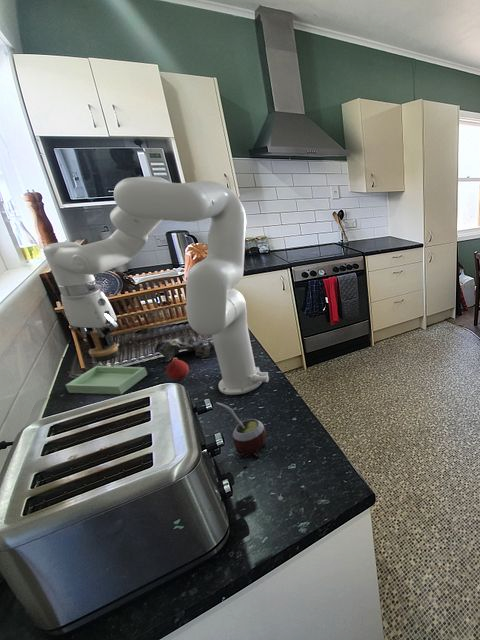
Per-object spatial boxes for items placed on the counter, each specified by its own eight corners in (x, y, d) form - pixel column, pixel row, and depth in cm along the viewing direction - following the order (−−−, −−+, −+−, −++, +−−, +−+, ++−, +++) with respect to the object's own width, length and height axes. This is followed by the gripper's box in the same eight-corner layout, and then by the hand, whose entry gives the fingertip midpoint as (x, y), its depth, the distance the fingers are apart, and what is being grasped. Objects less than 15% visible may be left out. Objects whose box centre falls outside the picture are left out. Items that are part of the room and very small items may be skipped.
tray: (147, 374, 113) (145, 367, 112) (121, 394, 103) (118, 386, 102) (99, 373, 112) (96, 365, 111) (68, 392, 103) (65, 385, 102)
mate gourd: (273, 452, 85) (263, 403, 79) (239, 469, 80) (225, 418, 74) (261, 436, 90) (251, 388, 83) (228, 451, 85) (215, 402, 78)
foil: (201, 357, 117) (159, 333, 114) (192, 377, 122) (151, 355, 119) (222, 339, 127) (184, 318, 125) (213, 359, 132) (176, 338, 129)
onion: (180, 386, 108) (173, 364, 104) (165, 383, 109) (157, 361, 105) (195, 376, 113) (189, 354, 109) (180, 373, 114) (173, 352, 110)
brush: (125, 351, 107) (116, 327, 103) (108, 362, 101) (98, 336, 97) (104, 350, 107) (94, 326, 103) (86, 361, 101) (75, 336, 97)
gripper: (120, 285, 98) (139, 342, 106) (62, 282, 98) (86, 340, 106) (97, 294, 91) (120, 354, 99) (35, 291, 91) (62, 352, 99)
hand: (102, 346), depth 102 cm, fingers closed on brush, 2 cm apart
